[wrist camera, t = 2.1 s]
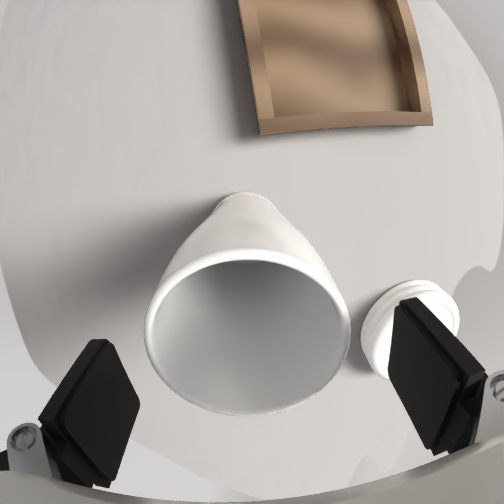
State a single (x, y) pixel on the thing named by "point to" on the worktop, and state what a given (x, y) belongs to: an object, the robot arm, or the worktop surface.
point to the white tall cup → (246, 314)
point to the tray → (334, 64)
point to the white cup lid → (382, 313)
